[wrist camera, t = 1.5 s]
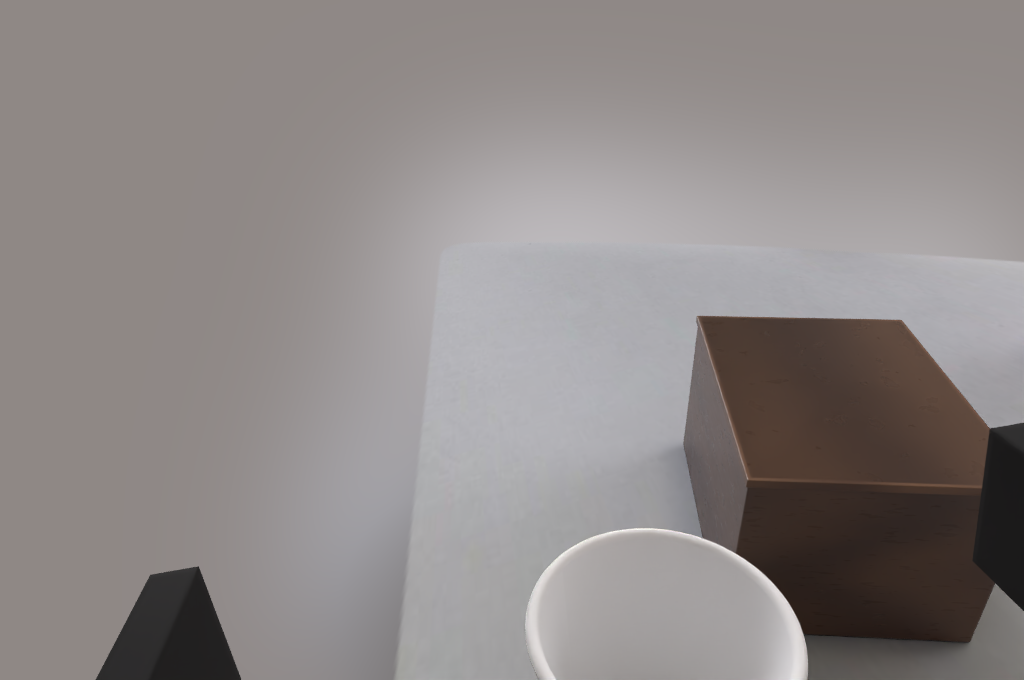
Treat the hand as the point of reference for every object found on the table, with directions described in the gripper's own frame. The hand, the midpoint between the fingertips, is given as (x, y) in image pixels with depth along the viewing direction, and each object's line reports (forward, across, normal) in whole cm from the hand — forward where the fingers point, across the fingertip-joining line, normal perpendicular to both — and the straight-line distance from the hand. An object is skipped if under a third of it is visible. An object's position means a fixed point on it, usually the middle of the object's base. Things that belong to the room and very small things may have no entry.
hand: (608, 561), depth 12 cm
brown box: (+22, +14, -18) cm, 32 cm away
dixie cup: (+8, +1, -19) cm, 20 cm away
